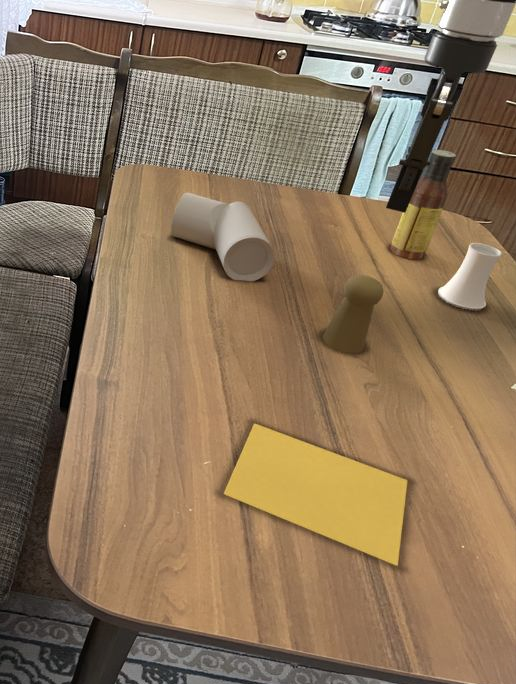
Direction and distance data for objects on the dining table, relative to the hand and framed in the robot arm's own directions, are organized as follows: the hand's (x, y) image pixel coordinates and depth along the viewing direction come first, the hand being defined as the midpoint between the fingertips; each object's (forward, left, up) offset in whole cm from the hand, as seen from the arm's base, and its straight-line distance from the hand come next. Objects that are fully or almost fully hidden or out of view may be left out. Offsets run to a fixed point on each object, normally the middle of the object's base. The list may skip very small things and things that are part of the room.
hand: (396, 208), depth 100 cm
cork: (0, +10, -19) cm, 21 cm away
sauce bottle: (-6, -32, -19) cm, 37 cm away
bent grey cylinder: (+24, -7, -19) cm, 31 cm away
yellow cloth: (-2, +44, -19) cm, 48 cm away
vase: (-16, -17, -19) cm, 30 cm away
